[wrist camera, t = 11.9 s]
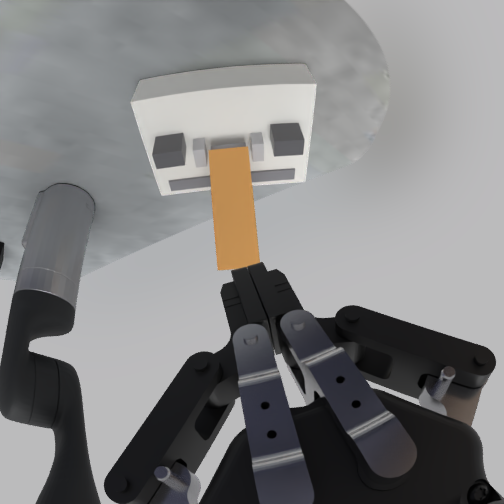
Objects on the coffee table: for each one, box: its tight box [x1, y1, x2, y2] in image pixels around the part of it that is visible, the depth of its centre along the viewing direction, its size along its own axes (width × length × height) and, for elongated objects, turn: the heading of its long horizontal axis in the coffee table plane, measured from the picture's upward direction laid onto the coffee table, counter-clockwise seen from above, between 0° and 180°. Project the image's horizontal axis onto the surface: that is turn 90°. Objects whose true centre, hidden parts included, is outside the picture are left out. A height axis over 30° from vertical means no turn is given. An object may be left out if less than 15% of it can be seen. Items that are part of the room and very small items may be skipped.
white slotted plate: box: [131, 64, 317, 196], centre depth 34 cm, size 18×14×8 cm
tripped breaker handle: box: [208, 142, 260, 270], centre depth 32 cm, size 4×2×13 cm, turn 92°
